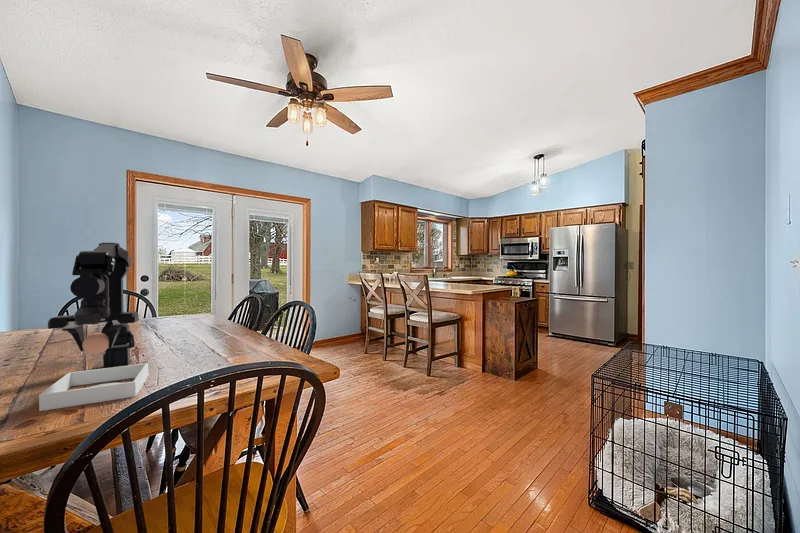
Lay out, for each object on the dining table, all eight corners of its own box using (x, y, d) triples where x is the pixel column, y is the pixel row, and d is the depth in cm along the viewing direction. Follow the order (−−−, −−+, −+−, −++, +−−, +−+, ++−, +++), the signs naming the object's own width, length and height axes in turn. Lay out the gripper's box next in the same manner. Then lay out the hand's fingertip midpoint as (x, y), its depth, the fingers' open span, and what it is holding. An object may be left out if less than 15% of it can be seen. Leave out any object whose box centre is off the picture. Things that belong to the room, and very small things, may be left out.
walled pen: (148, 375, 111) (148, 363, 111) (135, 396, 94) (135, 381, 94) (69, 385, 102) (69, 372, 102) (39, 411, 85) (38, 395, 85)
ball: (113, 350, 102) (112, 330, 102) (106, 355, 97) (106, 333, 96) (86, 352, 99) (86, 332, 99) (78, 357, 94) (78, 336, 94)
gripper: (37, 299, 86) (38, 361, 86) (129, 295, 95) (130, 351, 95) (56, 296, 96) (57, 351, 96) (138, 292, 105) (139, 343, 105)
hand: (96, 349), depth 98 cm, fingers closed on ball, 6 cm apart
